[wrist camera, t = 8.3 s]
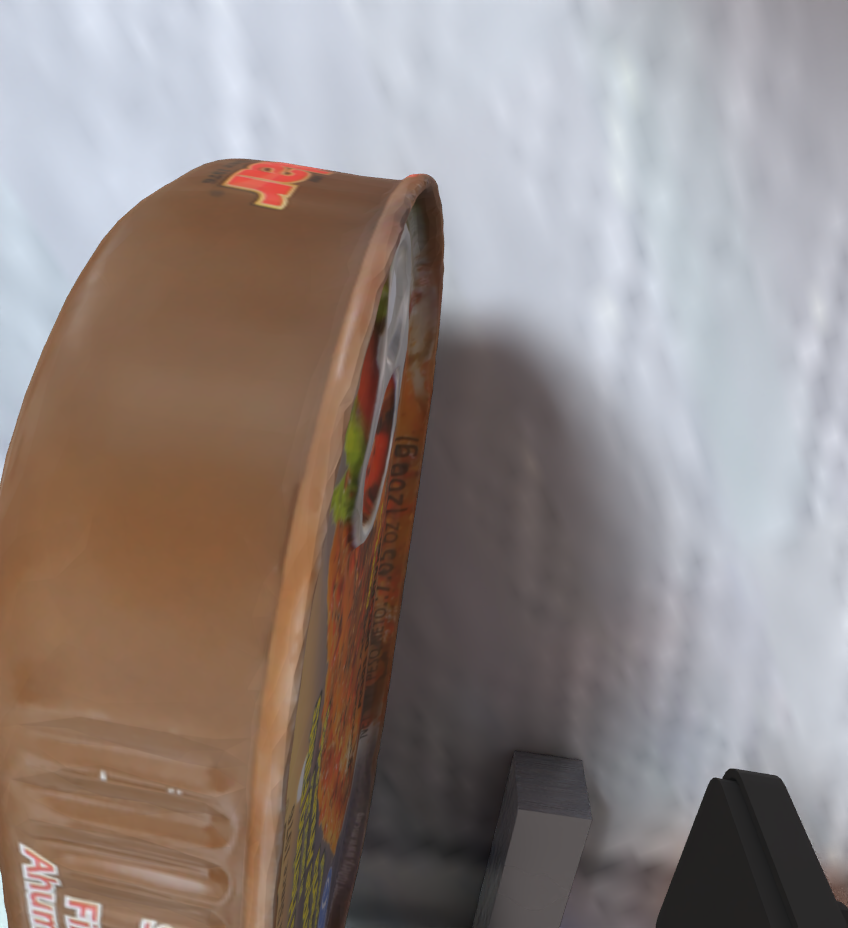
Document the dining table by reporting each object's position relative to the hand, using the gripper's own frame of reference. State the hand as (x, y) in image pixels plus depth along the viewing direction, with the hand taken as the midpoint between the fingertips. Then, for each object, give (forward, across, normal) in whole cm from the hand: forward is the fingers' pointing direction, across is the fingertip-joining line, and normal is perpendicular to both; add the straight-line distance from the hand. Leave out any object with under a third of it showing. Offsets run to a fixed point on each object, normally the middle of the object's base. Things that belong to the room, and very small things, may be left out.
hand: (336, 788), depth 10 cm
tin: (+5, +1, 0) cm, 5 cm away
